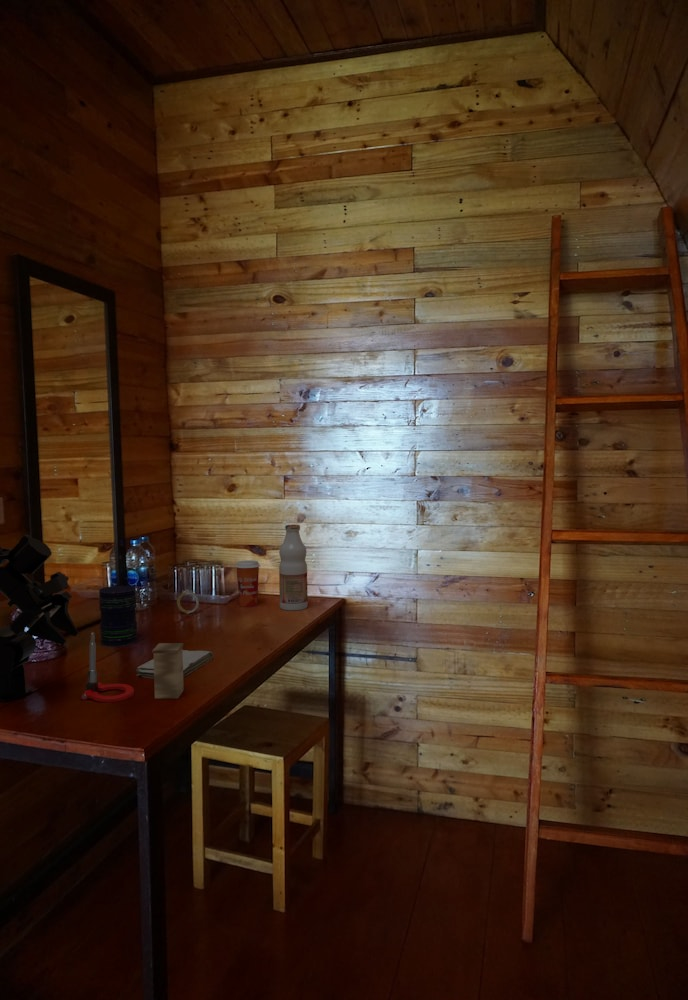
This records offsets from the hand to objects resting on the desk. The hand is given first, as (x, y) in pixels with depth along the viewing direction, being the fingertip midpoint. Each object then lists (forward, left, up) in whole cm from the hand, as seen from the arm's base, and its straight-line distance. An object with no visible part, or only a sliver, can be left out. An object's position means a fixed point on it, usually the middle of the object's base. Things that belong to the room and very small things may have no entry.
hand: (70, 638), depth 148 cm
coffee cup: (-20, +87, -13) cm, 90 cm away
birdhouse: (+17, +12, -13) cm, 25 cm away
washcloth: (+6, +25, -13) cm, 29 cm away
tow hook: (+7, +4, -13) cm, 15 cm away
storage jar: (-24, +34, -13) cm, 44 cm away
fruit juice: (-4, +91, -13) cm, 92 cm away
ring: (-30, +68, -13) cm, 76 cm away
